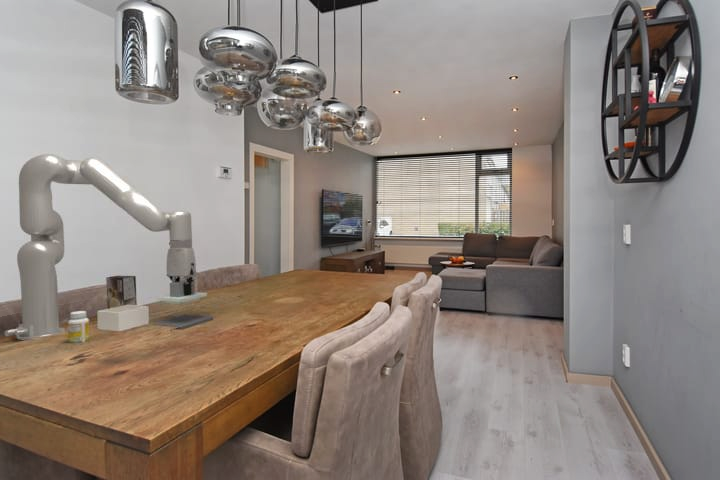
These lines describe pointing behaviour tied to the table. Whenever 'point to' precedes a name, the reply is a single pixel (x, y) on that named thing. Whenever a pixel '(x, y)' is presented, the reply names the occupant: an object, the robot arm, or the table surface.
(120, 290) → the coffee box
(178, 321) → the charcoal mat
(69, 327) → the supplement bottle
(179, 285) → the sage lid
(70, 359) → the table surface
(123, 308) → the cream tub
